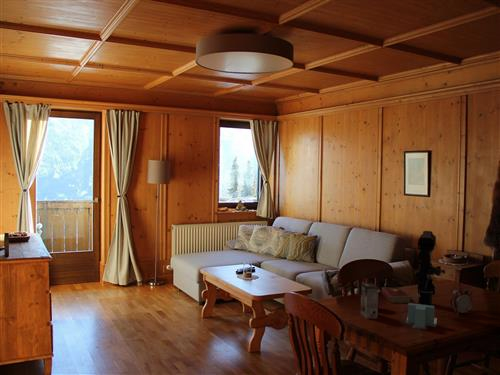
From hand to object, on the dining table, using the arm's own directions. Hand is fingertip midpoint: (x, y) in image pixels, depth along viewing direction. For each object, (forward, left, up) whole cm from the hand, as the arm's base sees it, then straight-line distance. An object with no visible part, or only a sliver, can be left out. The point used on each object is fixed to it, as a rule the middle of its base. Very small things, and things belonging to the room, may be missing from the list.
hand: (424, 289), depth 249 cm
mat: (+13, +13, -12) cm, 23 cm away
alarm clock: (-18, +8, -12) cm, 23 cm away
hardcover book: (-5, -29, -13) cm, 32 cm away
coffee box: (+32, -4, -12) cm, 34 cm away
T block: (+17, +17, -12) cm, 27 cm away
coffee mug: (+22, -16, -12) cm, 30 cm away
